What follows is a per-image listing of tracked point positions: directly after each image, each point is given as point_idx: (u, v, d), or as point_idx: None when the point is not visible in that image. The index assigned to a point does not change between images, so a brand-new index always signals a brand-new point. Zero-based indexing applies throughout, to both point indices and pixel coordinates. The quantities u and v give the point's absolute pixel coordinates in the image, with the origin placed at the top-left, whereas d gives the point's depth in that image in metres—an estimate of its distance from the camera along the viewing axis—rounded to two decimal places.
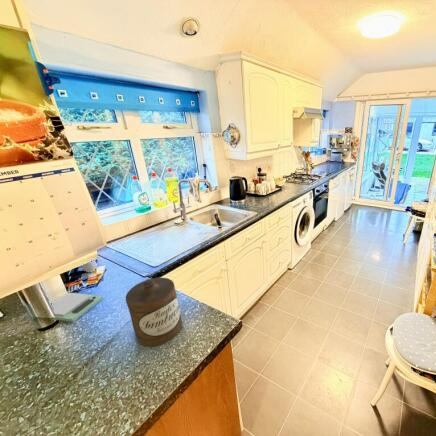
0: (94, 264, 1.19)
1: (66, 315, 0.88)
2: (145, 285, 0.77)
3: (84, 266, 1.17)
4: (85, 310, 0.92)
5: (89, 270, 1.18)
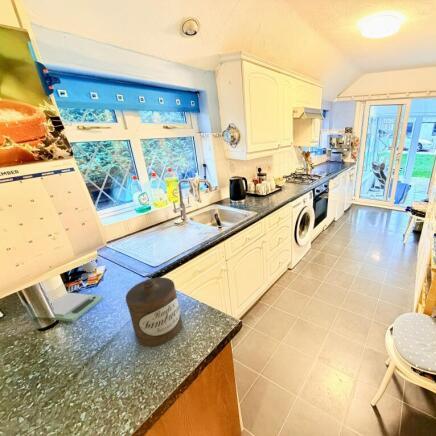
0: (94, 264, 1.19)
1: (66, 315, 0.88)
2: (145, 285, 0.77)
3: (84, 266, 1.17)
4: (85, 310, 0.92)
5: (89, 270, 1.18)
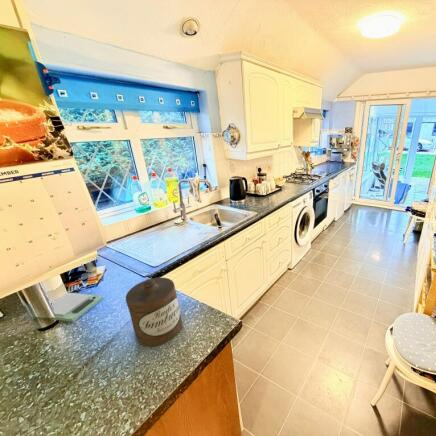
0: None
1: (66, 315, 0.88)
2: (145, 285, 0.77)
3: None
4: (85, 310, 0.92)
5: (89, 270, 1.18)
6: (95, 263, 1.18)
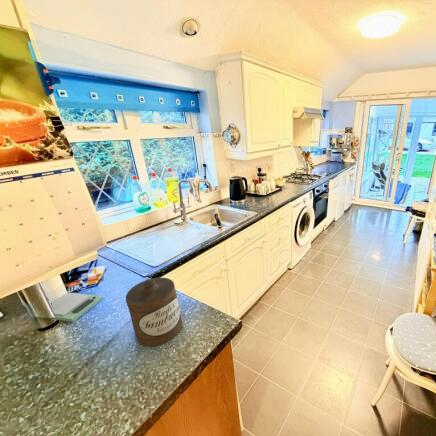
0: None
1: (66, 315, 0.88)
2: (145, 285, 0.77)
3: None
4: (85, 310, 0.92)
5: None
6: None
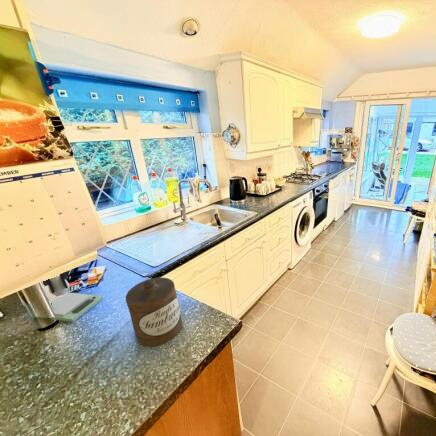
0: None
1: (66, 315, 0.88)
2: (145, 285, 0.77)
3: None
4: (85, 310, 0.92)
5: (58, 293, 0.89)
6: (65, 284, 0.89)
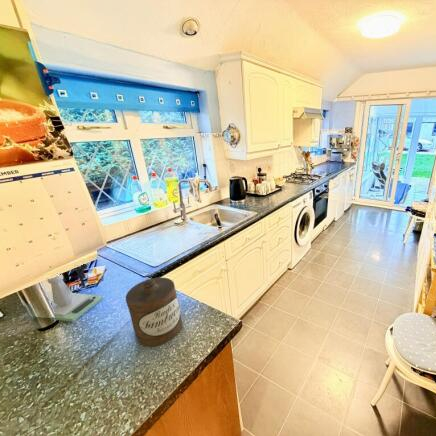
0: (69, 295, 0.92)
1: (66, 315, 0.88)
2: (145, 285, 0.77)
3: (55, 298, 0.90)
4: (85, 310, 0.92)
5: (62, 303, 0.91)
6: (83, 283, 0.95)
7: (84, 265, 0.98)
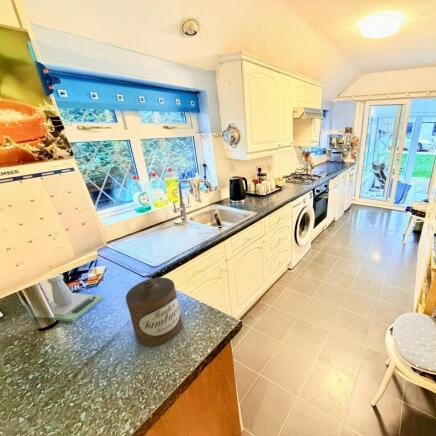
0: (69, 295, 0.92)
1: (66, 315, 0.88)
2: (145, 285, 0.77)
3: (55, 298, 0.90)
4: (85, 310, 0.92)
5: (62, 303, 0.91)
6: None
7: None
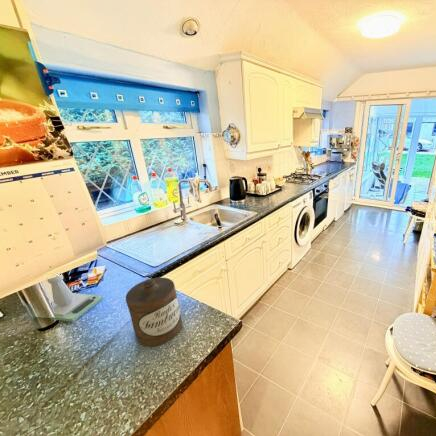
0: (69, 295, 0.92)
1: (66, 315, 0.88)
2: (145, 285, 0.77)
3: (55, 298, 0.90)
4: (85, 310, 0.92)
5: (62, 303, 0.91)
6: None
7: None
